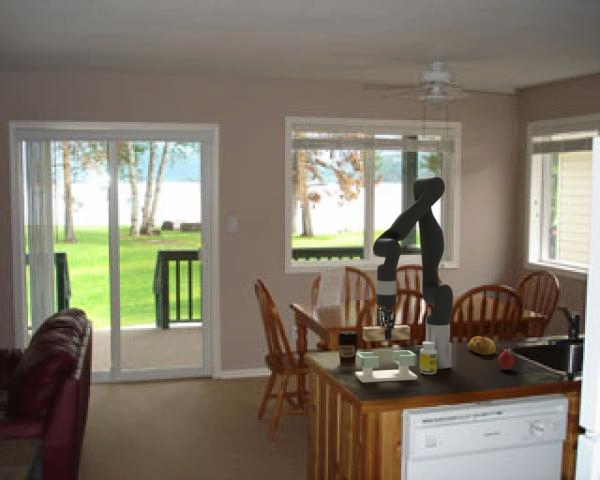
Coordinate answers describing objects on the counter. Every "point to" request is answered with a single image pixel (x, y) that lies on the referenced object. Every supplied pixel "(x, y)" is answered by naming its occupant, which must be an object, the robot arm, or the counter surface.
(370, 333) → the tan rectangular bar
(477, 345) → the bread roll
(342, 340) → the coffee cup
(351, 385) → the counter surface
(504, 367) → the onion
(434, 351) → the pill bottle
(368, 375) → the bracket stand
